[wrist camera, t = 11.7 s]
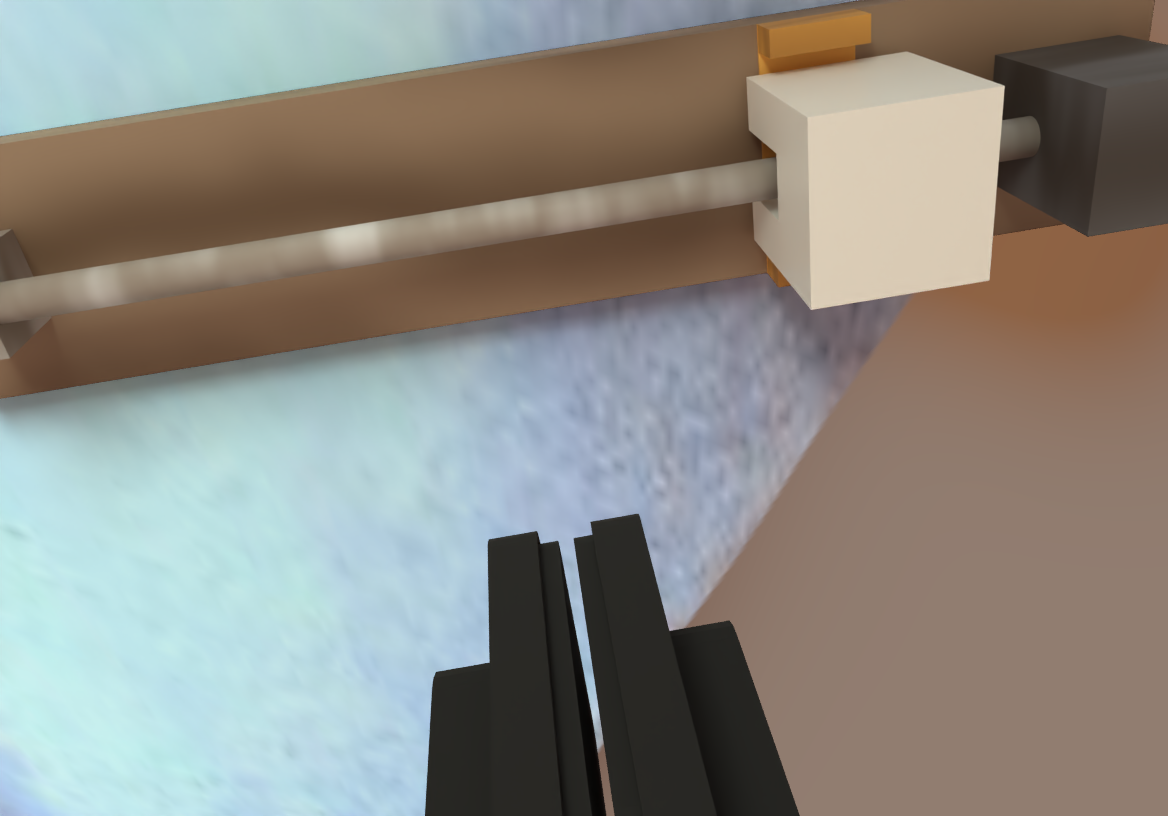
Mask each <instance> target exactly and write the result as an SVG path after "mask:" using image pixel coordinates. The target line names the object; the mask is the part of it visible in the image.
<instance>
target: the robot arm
mask: <svg viewBox="0 0 1168 816" xmlns="http://www.w3.org/2000/svg"><path fill="white" fill-rule="evenodd" d="M591 528H592V534H593V535H589V536H584V537H578V538H574V544H575V551H576V558H577V565H578V571H579V578H580V585H581V592H582V598H583V605H584V612H585V619H586V625H587V632H588V639H589V646H590V652H591V659H592V666H593V673H594V679H595V686H596V693H597V700H598V706H599V713H600V720H601V727H602V733H603V740H604V747H605V753H606V760H607V767H608V773H609V780H610V787H611V794H612V801H613V807H614V813H615V816H800V815H799V813H798V810H797V807H796V804H795V801H794V798H793V795H792V792H791V789H790V786H789V784H788V781H787V778H786V775H785V772H784V769H783V766H782V763H781V761H780V758H779V755H778V752H777V749H776V746H775V743H774V740H773V737H772V735H771V732H770V729H769V726H768V723H767V720H766V717H765V715H764V712H763V709H762V706H761V703H760V700H759V697H758V694H757V691H756V689H755V686H754V683H753V680H752V677H751V674H750V671H749V668H748V666H747V663H746V660H745V657H744V654H743V651H742V648H741V645H740V642H739V640H738V637H737V634H736V632H735V629H734V627H733V625H732V624H731V622H730V621H724V622H718V623H713V624H707V625H702V626H696V627H690V628H684V629H679V630H673V631H669V628H668V624H667V620H666V616H665V613H664V609H663V605H662V601H661V597H660V593H659V589H658V585H657V582H656V578H655V574H654V570H653V566H652V562H651V558H650V554H649V551H648V547H647V543H646V539H645V535H644V531H643V527H642V524H641V520H640V516H639V514H634V515H628V516H622V517H616V518H610V519H605V520H599V521H593V522H591ZM488 590H489V652H490V663H485V664H479V665H473V666H468V667H462V668H456V669H451V670H445V671H439V672H436V673H435V676H434V679H433V687H432V701H431V719H430V737H429V755H428V772H427V790H426V808H425V816H606V810H605V803H604V796H603V788H602V781H601V774H600V767H599V760H598V752H597V745H596V738H595V732H594V726H593V720H592V714H591V709H590V703H589V698H588V693H587V688H586V682H585V677H584V672H583V667H582V661H581V656H580V651H579V646H578V640H577V635H576V630H575V625H574V620H573V614H572V609H571V604H570V599H569V593H568V588H567V583H566V578H565V572H564V567H563V562H562V557H561V551H560V546H559V542H558V541H555V542H549V543H543V544H540V540H539V536H538V533H537V531H535V532H530V533H524V534H518V535H512V536H506V537H501V538H495V539H489V541H488Z"/></svg>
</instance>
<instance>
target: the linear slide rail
mask: <svg viewBox="0 0 1168 816" xmlns="http://www.w3.org/2000/svg"><path fill="white" fill-rule="evenodd" d="M1154 3H1155V0H860V1H853V2H847V3H841V4H834V5H828V6H822V7H815V8H809V9H803V10H796V11H790V12H784V13H778V14H771V15H765V16H759V17H752V18H746V19H740V20H733V21H727V22H721V23H714V24H708V25H702V26H695V27H689V28H683V29H676V30H670V31H664V32H657V33H651V34H645V35H639V36H632V37H626V38H620V39H613V40H607V41H601V42H594V43H588V44H582V45H575V46H569V47H563V48H556V49H550V50H544V51H537V52H531V53H525V54H518V55H512V56H506V57H499V58H493V59H487V60H481V61H474V62H468V63H462V64H455V65H449V66H443V67H436V68H430V69H424V70H417V71H411V72H405V73H398V74H392V75H386V76H379V77H373V78H367V79H360V80H354V81H348V82H342V83H335V84H329V85H323V86H316V87H310V88H304V89H297V90H291V91H285V92H278V93H272V94H266V95H259V96H253V97H247V98H240V99H234V100H228V101H221V102H215V103H209V104H203V105H196V106H190V107H184V108H177V109H171V110H165V111H158V112H152V113H146V114H139V115H133V116H127V117H120V118H114V119H108V120H101V121H95V122H89V123H82V124H76V125H70V126H64V127H57V128H51V129H45V130H38V131H32V132H26V133H19V134H13V135H7V136H0V399H1V398H7V397H14V396H20V395H26V394H32V393H38V392H44V391H50V390H56V389H62V388H68V387H74V386H81V385H87V384H93V383H99V382H105V381H111V380H117V379H123V378H129V377H135V376H141V375H148V374H154V373H160V372H166V371H172V370H178V369H184V368H190V367H196V366H202V365H209V364H215V363H221V362H227V361H233V360H239V359H245V358H251V357H257V356H263V355H269V354H276V353H282V352H288V351H294V350H300V349H306V348H312V347H318V346H324V345H330V344H336V343H343V342H349V341H355V340H361V339H367V338H373V337H379V336H385V335H391V334H397V333H403V332H410V331H416V330H422V329H428V328H434V327H440V326H446V325H452V324H458V323H464V322H470V321H477V320H483V319H489V318H495V317H501V316H507V315H513V314H519V313H525V312H531V311H537V310H544V309H550V308H556V307H562V306H568V305H574V304H580V303H586V302H592V301H598V300H604V299H611V298H617V297H623V296H629V295H635V294H641V293H647V292H653V291H659V290H665V289H671V288H678V287H684V286H690V285H696V284H702V283H708V282H714V281H720V280H726V279H732V278H739V277H745V276H751V275H757V274H763V273H768V274H769V276H770V277H771V278H772V279H773V281H774V282H775V283H776V285H777V286H778V287H785V286H791V284H790V283H789V282H788V281H787V279H786V278H785V277H784V276H783V275H782V273H781V272H780V271H779V270H778V268H777V267H776V266H775V265H774V263H773V262H772V261H771V260H770V259H769V257H768V256H767V255H766V254H765V252H764V251H763V250H762V249H761V247H760V246H759V245H758V244H757V242H756V241H755V240H754V223H753V203H752V202H757V201H763V200H769V199H775V198H778V187H777V159H776V153H775V152H774V151H773V150H772V149H771V148H769V147H768V146H767V145H766V144H765V143H763V142H762V141H761V140H760V139H759V138H758V137H756V136H755V135H754V134H753V133H752V132H751V131H749V122H748V101H747V81H746V77H750V76H756V75H763V74H769V73H775V72H781V71H788V70H794V69H800V68H807V67H813V66H819V65H825V64H832V63H838V62H844V61H850V60H857V59H863V58H869V57H875V56H882V55H888V54H894V53H900V52H910V53H913V54H916V55H919V56H921V57H924V58H927V59H930V60H933V61H936V62H938V63H941V64H944V65H947V66H950V67H953V68H955V69H958V70H961V71H964V72H967V73H970V74H973V75H975V76H978V77H981V78H984V79H987V80H990V81H992V82H995V83H998V84H1001V85H1004V86H1005V89H1004V101H1003V114H1002V127H1001V139H1000V152H999V165H998V177H997V190H996V203H995V216H994V228H993V236H994V235H1000V234H1006V233H1012V232H1018V231H1025V230H1031V229H1036V228H1043V227H1049V226H1055V225H1061V224H1066V225H1067V226H1069V227H1071V228H1073V229H1075V230H1077V231H1078V232H1080V233H1082V234H1084V235H1086V236H1087V237H1089V236H1095V235H1101V234H1106V233H1113V232H1119V231H1125V230H1131V229H1137V228H1143V227H1149V226H1155V225H1162V224H1167V223H1168V45H1165V44H1160V43H1156V42H1151V41H1149V37H1150V30H1151V23H1152V16H1153V10H1154Z"/></svg>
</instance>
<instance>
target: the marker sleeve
mask: <svg viewBox="0 0 1168 816" xmlns="http://www.w3.org/2000/svg"><path fill="white" fill-rule="evenodd" d="M746 81H747V101H748V122H749V131H751V132H752V133H753V134H754V135H755V136H756V137H758V138H759V139H760V140H761V141H762V142H763V143H765V144H766V145H767V146H768V147H769V148H771V149H772V150H773V151H774V152H775V153H776V159H777V187H778V198H775V199H769V200H763V201H757V202H752V203H753V223H754V240H755V241H756V242H757V244H758V245H759V246H760V247H761V249H762V250H763V251H764V252H765V254H766V255H767V256H768V257H769V259H770V260H771V261H772V262H773V263H774V265H775V266H776V267H777V268H778V270H779V271H780V272H781V273H782V275H783V276H784V277H785V278H786V279H787V281H788V282H789V283H790V284H791V286H792V287H793V288H794V289H795V291H796V292H797V293H798V294H799V296H800V297H801V298H802V299H803V300H804V302H805V303H806V304H807V305H808V307H809V308H810V309H811V310H814V309H820V308H826V307H832V306H838V305H844V304H850V303H856V302H862V301H869V300H875V299H881V298H887V297H893V296H899V295H905V294H911V293H917V292H923V291H929V290H935V289H941V288H947V287H953V286H959V285H965V284H971V283H977V282H984V281H989V279H990V266H991V253H992V241H993V228H994V216H995V203H996V190H997V177H998V165H999V152H1000V139H1001V127H1002V114H1003V101H1004V89H1005V86H1004V85H1001V84H998V83H995V82H992V81H990V80H987V79H984V78H981V77H978V76H975V75H973V74H970V73H967V72H964V71H961V70H958V69H955V68H953V67H950V66H947V65H944V64H941V63H938V62H936V61H933V60H930V59H927V58H924V57H921V56H919V55H916V54H913V53H910V52H900V53H894V54H888V55H882V56H875V57H869V58H863V59H857V60H850V61H844V62H838V63H832V64H825V65H819V66H813V67H807V68H800V69H794V70H788V71H781V72H775V73H769V74H763V75H756V76H750V77H746Z"/></svg>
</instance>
